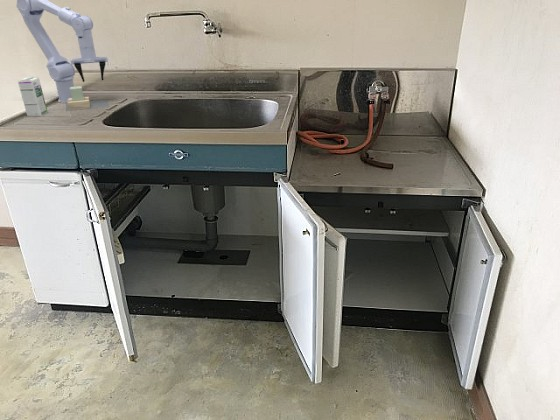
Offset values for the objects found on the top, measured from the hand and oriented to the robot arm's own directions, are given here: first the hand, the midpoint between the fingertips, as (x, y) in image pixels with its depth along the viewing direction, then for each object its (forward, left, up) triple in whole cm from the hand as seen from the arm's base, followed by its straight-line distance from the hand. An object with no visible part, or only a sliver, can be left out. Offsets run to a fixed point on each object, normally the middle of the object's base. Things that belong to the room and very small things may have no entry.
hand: (93, 80), depth 203 cm
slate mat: (+6, -4, -9) cm, 12 cm away
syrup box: (+13, -23, -10) cm, 28 cm away
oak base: (+8, -7, -9) cm, 14 cm away
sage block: (+8, -7, -6) cm, 12 cm away
